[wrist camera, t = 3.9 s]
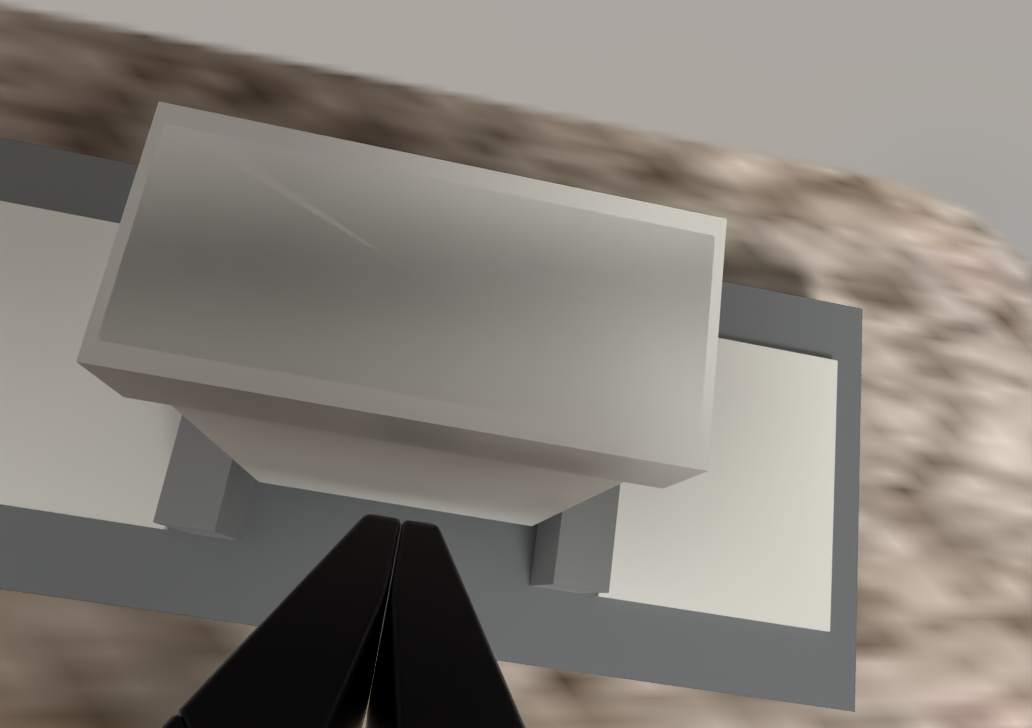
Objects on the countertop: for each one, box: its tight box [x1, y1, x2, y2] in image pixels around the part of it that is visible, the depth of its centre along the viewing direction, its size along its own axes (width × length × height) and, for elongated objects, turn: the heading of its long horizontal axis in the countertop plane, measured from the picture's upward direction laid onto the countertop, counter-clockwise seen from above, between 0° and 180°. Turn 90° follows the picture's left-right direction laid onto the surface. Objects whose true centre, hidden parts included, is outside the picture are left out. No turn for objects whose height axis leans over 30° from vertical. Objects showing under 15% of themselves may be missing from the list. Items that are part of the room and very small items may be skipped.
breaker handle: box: [76, 101, 727, 526], centre depth 11 cm, size 2×5×8 cm, turn 82°
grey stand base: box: [0, 138, 862, 712], centre depth 17 cm, size 9×20×4 cm, turn 82°
